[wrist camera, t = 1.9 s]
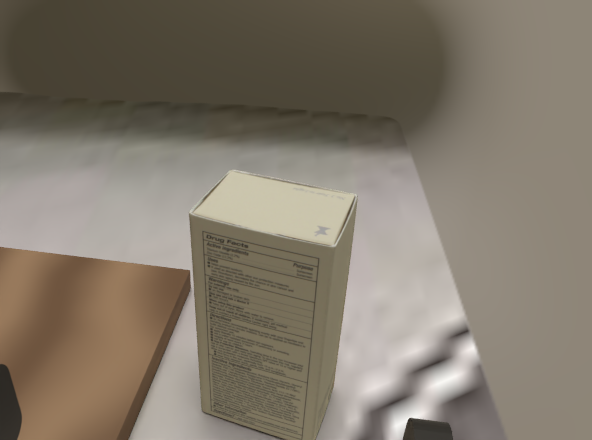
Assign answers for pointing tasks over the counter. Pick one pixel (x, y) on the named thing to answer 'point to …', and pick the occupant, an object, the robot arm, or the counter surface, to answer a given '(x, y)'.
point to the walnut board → (84, 339)
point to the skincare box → (270, 299)
